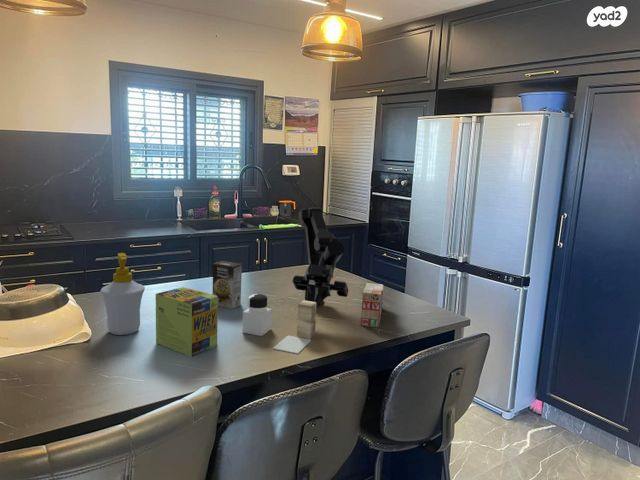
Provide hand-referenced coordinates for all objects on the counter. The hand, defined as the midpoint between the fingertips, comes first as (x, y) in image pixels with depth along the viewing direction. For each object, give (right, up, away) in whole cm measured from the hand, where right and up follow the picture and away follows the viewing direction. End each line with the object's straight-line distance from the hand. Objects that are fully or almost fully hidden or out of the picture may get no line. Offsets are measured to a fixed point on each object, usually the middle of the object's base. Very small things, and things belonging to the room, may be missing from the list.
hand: (313, 307), depth 155 cm
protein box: (-37, -9, -15) cm, 41 cm away
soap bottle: (-59, -6, -7) cm, 60 cm away
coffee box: (-33, -2, +22) cm, 40 cm away
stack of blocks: (+21, -6, +18) cm, 28 cm away
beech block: (-2, -8, -4) cm, 10 cm away
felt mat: (-6, -10, -11) cm, 16 cm away
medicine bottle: (-18, -7, -2) cm, 20 cm away
